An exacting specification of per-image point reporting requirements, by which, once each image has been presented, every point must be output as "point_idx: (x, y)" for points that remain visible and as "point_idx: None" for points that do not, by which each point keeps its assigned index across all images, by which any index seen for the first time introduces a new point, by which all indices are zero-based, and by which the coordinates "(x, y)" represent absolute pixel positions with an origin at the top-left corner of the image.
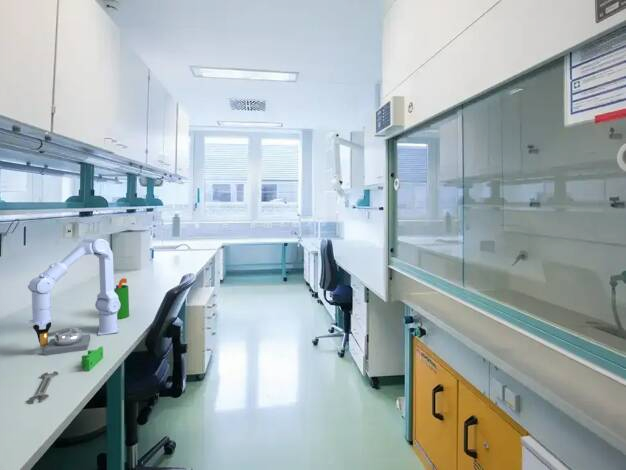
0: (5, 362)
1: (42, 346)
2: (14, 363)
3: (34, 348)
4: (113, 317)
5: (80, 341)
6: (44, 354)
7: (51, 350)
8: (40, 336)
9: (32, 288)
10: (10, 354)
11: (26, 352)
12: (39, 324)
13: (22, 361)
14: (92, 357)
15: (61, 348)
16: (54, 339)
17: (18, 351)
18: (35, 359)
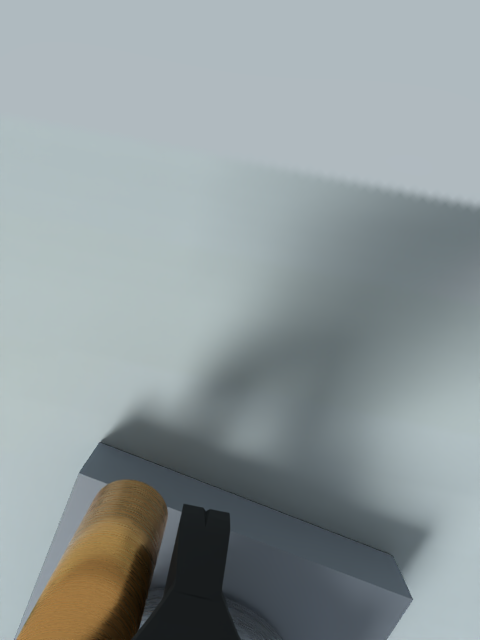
0: (164, 146)
1: (96, 495)
2: (69, 206)
3: (377, 431)
4: None
5: None
6: (94, 450)
7: (61, 519)
8: (50, 602)
9: None
10: (382, 232)
11: (316, 355)
12: None
13: (75, 273)
14: None
15: (34, 591)
16: (363, 618)
17: (412, 308)
18: (48, 367)
